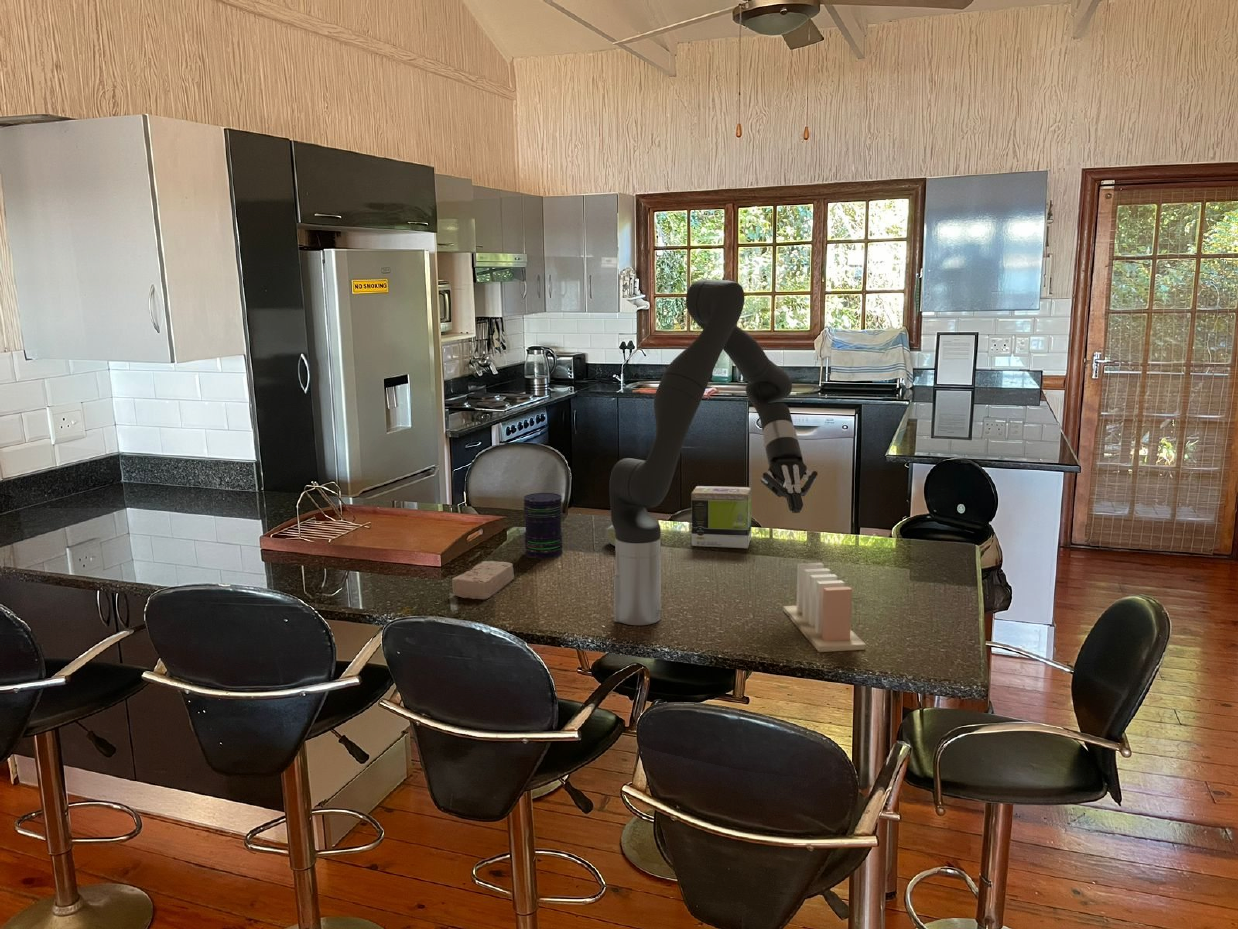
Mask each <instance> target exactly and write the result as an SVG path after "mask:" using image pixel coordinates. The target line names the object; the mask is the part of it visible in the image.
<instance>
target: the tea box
mask: <svg viewBox="0 0 1238 929" xmlns="http://www.w3.org/2000/svg"><path fill="white" fill-rule="evenodd" d="M690 495H691V496H690V498H691V499H690V500H691V502H690V503H691V506H690V507H691V508H690V509H691V514H690V516H691V546H692V547H711V548H712V547H713V548H714V547H715V548H733V549H734V548H735V549H748V548H749V545H750V543H751V539H752V487H751V486H720V485H719V486H717V485H713V486H712V485H711V486H709V485H708V486H707V485H706V486H705V485H697V486H695V488H694V489H693V491H692V492H691V494H690Z"/></svg>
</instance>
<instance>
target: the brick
mask: <svg viewBox="0 0 1238 929" xmlns="http://www.w3.org/2000/svg"><path fill="white" fill-rule="evenodd" d="M514 578H515V574H514V567H513V563H511V562H507V561H497V560H496V561H494V560H492V561H491V560H490V561H488V560H483V561H481V562H480V563H479V564H476V565H474V566H473V568H472V569H470V570H468V571H465V572H464V573H462V574H459V575H457V576H455V577H453V578H452V580H451V583H452V585H451V587H452V594H453V595H454V596H455V597H460V598H462V599H472V600H487V599H488V598H491V597H492V596H494V595H495V594H497V593H498V592H500V590H502V589H504V587H505V586H506V585H508V584H510V582H511V581H512V580H514Z"/></svg>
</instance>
